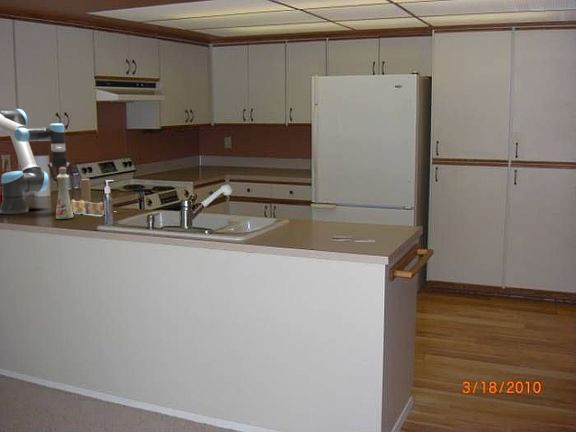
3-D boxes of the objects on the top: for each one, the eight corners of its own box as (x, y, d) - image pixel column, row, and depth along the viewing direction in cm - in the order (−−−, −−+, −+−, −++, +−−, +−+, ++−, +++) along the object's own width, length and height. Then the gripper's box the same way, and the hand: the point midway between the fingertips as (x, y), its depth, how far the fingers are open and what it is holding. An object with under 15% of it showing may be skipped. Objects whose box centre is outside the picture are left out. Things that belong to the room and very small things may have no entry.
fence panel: (87, 212, 391) (86, 200, 390) (85, 212, 390) (84, 200, 389) (73, 211, 397) (72, 199, 396) (71, 211, 396) (70, 199, 395)
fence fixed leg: (104, 215, 383) (104, 202, 382) (102, 216, 381) (101, 202, 380) (87, 214, 391) (87, 200, 390) (85, 214, 389) (84, 201, 388)
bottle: (73, 219, 372) (70, 167, 368) (55, 220, 369) (52, 167, 365) (73, 217, 380) (71, 165, 376) (56, 217, 377) (53, 166, 373)
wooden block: (74, 210, 409) (72, 179, 406) (75, 209, 413) (74, 178, 410) (90, 209, 410) (88, 179, 407) (91, 208, 414) (89, 178, 412)
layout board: (100, 216, 380) (100, 216, 380) (67, 213, 395) (67, 212, 395) (124, 213, 394) (124, 212, 393) (91, 209, 409) (91, 208, 409)
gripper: (46, 151, 382) (49, 194, 385) (71, 151, 386) (73, 193, 389) (46, 151, 389) (48, 193, 392) (70, 150, 393) (73, 192, 396)
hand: (61, 193), depth 391 cm, fingers closed
